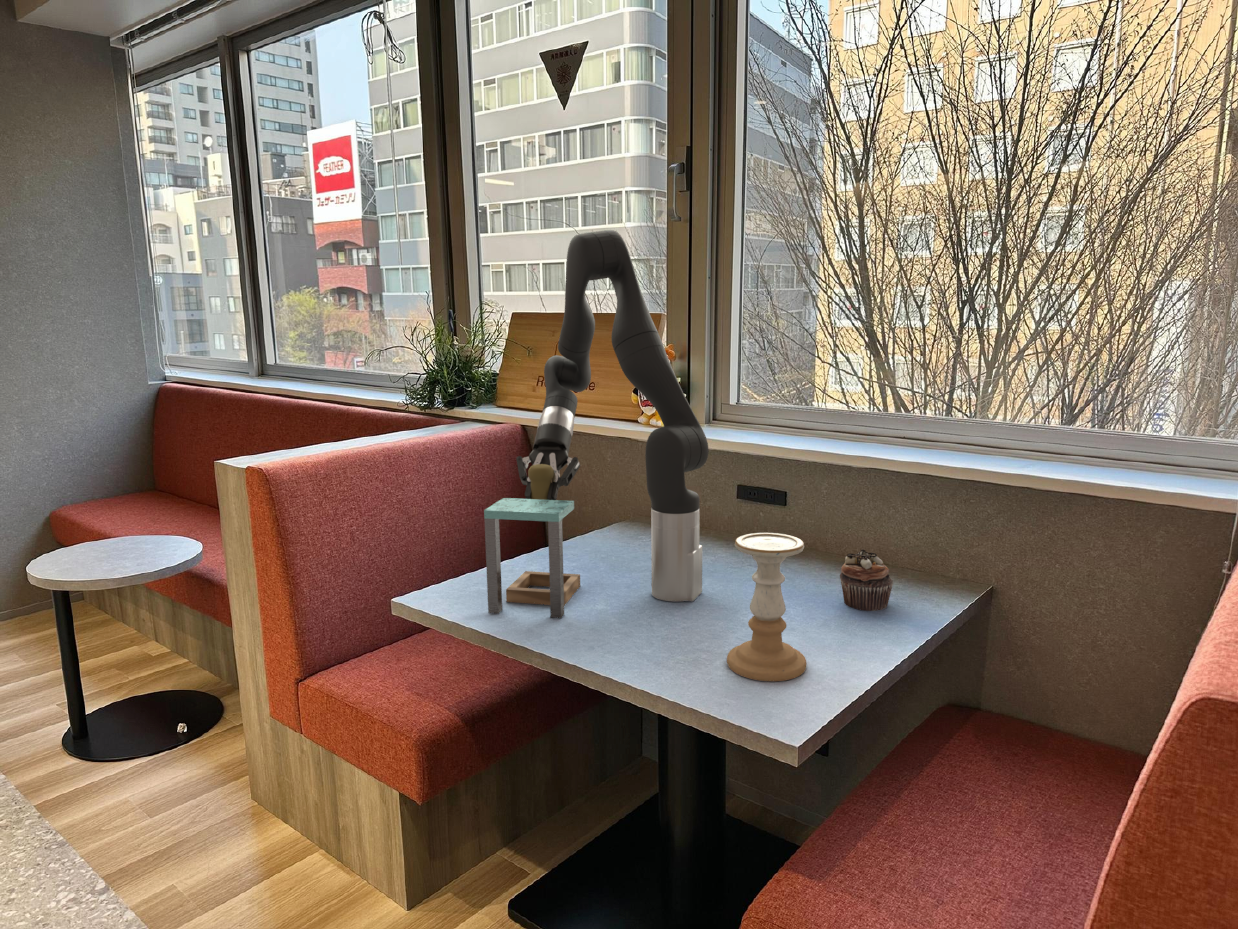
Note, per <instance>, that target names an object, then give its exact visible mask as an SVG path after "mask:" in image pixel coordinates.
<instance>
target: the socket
mask: <svg viewBox="0 0 1238 929" xmlns="http://www.w3.org/2000/svg"><path fill="white" fill-rule="evenodd" d="M563 579H564V607H566V605H567V603H568V602H569V601H570V600H571V598H572V597H573V596H574V595H575V594H576V592H578V590H579V588H580V587H581V574H576V573H564V572H563ZM532 586H533V587H544V586H545V588H546V587H548V588H550V575H549V572H547V571H533V570H532V571H531V570H530V571H529V570H525V571H524V572H523V573H522V574H521V575H520V576H518V578H517V579H515V581H513V582H512V583H511V584H510V585H509V586H508V587H507V588H506V589H505V596H506V600H505V601H506V603H517V604H531V605H533V604H534V605H543V604H544V606H550V589H545V588H544V589H542V588H531V587H532ZM577 589H578V590H577ZM574 593H575V594H574ZM572 595H573V596H572ZM565 604H566V605H565Z"/></svg>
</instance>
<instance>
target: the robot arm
mask: <svg viewBox="0 0 1238 929" xmlns="http://www.w3.org/2000/svg"><path fill="white" fill-rule="evenodd" d="M632 260H633V259H632V257H631V255H630V252H629V248H628V246H627V244H626V242H625V240H624V237H622V235H621V234H620V233H619V232H618V231H616V230H611V229H607V230H597V231H590V232H582V233H578V234H576V235H574V236H573V237H572V238H571V240H570V241H569V245H568V248H567V253H566V263H565V264H566V266H565V268H566V269H565V285H564V286H565V288H564V292H565V293H564V310H563V311H564V313H563V319H562V320H563V321H562V325H561V329H560V333H559V338H558V344H557V349H558V352H559V354H560V355H552V356H551V357H549V358H548V359H547V360H546V363H545V365H544V369H543V374H544V376H543V378H544V382H545V400H544V404H543V408H542V413H541V415H540V417H539V420H538V424H537V429H536V434H535V437H534V441H533V442H534V443H533V446H532V451H531V452H530V453H529V455H528V456H524V457H522V456H521V455H518V456H516V458H515V459H516V460H515V461H516V464H517V466H516V467H517V470H518V476H519V479H520V481H521V484H522V485H523V486H526V487H525V491H524V497H525V499H531V480H530V479H529V476H528V473H527V469H528V467H529V463H531V466H533V465H537V464H546V465H550V466H551V467H552V468H553V471H554V476H553V478H552V480H551V483H550V487H549V491H548V496H547V499H548V500H558V493H559V489H560V488H561V487H563V486H564V487H568V486H569V485H570V483H571V482H572V480H573V479H574V477H575V475H576V474H577V472H578V471H579V468H580V467H581V464H580V463H581V462H580V461H579V459H578V457H576V456H573V457H570V456H569V452H570V448H571V442H572V437H573V434H574V426H575V418H576V412H577V407H578V397H577V395H576V394H575V392H576V393H581V392H584V391H586V389H587V388H588V387H589V386H590V383H591V381H592V380H591V379H592V369H591V362H590V361H591V360H590V354H591V348H592V343H593V339H594V336H595V332H596V331H595V330H596V320H595V317H594V313H593V311H592V309H591V307H590V305H589V303H588V300H587V298H586V289H587V288H588V284H589V282H590V281H597V280H603V279H604V280H605V279H609V280H610V281H611V284H612V286H613V289H614V294H615V297H616V309H615V310H616V311H615V313H614V314H615V315H614V320H613V325H612V331H611V346H612V348H613V350H614V353H615V356H616V358H617V361H618V364H619V366H620V368H621V370H622V373H623V374H624V376H625V377H626V379H627V380H628V381H629V383H631V384H632V385H633V387H635V388H636V389H637V390H638V392H640V393H641V394H642V395H643V396H644V397H645V399H647V401H649V403H650V404H651V405H652V406H653V408H654V409H655V410H656V412H657V414H658V416H659V418H660V420H661V423H662V425H663V426H660V427H657V428H654V430H652V431H651V432H650V434H649V435H648V438H647V441H646V444H645V454H644V455H645V474H646V488H647V493H648V496H649V498H650V503H651V504H650V506H651V508H650V510H651V512H650V516H651V517H650V519H651V521H650V523H651V525H650V526H651V527H650V528H651V530H650V531H651V536H650V537H651V542H650V543H651V548H650V550H651V553H650V554H651V556H650V557H651V559H650V560H651V581H650V582H651V583H650V584H651V595H652V597H654V598H656V599H657V600H661V601H666V602H684V601H685V602H687V601H688V602H694V601H695V600H696V599H697V598H698V597H699V596H700V595H701V594H702V592H703V545H702V544H700V507H701V506H700V502H701V500H700V495H699V494H698V493H697V492H696V491H694V490H691V489H688V488H687V487H686V479H685V473H688V472H692V471H693V472H694V471H695V470H698V469H701V468H702V467H703V466H704V465H705V464H706V463H707V461H708V458H709V442H708V439H707V436H706V433H705V431H704V429H703V427H702V425H701V424H700V421H699V420H698V418H697V415H695V412H694V411H693V408H692V407H691V405H690V403H689V401H688V399H687V398H686V395H685V393H684V391H683V389H682V387H681V385H680V383H679V380H678V378H677V376H676V373H675V371H674V369H673V367H672V364H671V362H670V360H669V356H668V355H667V352H666V349H665V346H664V344H663V341H662V339H661V336H660V333H659V332H658V330H657V327H656V325H655V323H654V321H653V319H652V316H651V314H650V311H649V309H648V306H647V303H646V301H645V298H644V296H643V293H642V290H641V287H640V284H639V281H638V277H637V273H636V271H635V268H634V265H633V261H632ZM566 465H567V467H566V468H565V470H564V471H563V472H562V474H560V470H562V469H563V468H564V467H565V466H566Z"/></svg>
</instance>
